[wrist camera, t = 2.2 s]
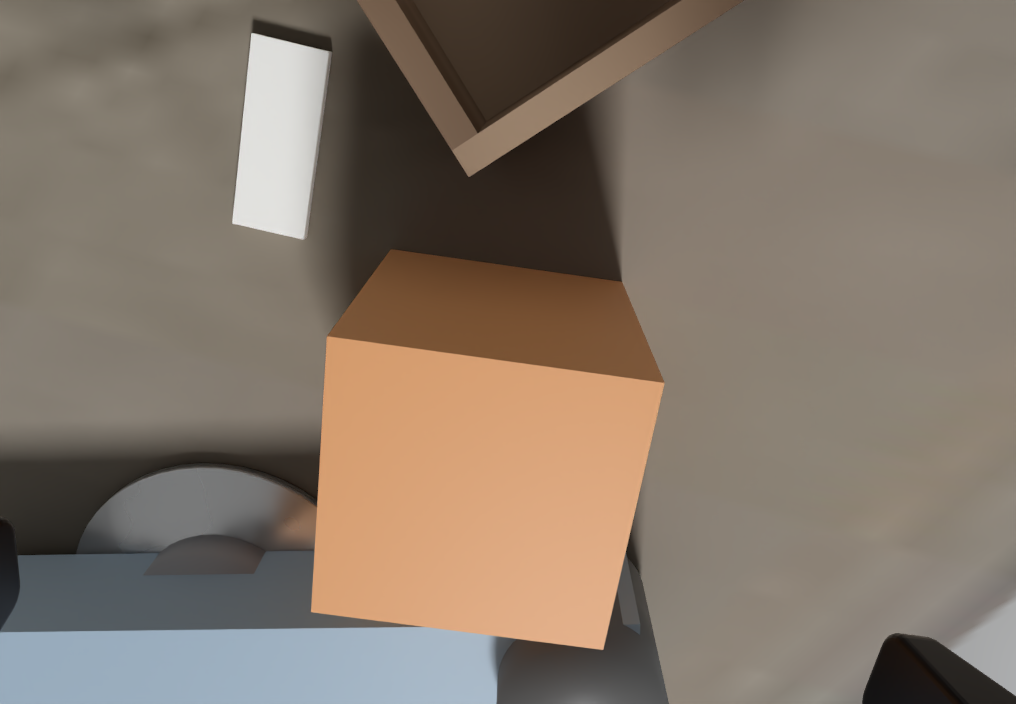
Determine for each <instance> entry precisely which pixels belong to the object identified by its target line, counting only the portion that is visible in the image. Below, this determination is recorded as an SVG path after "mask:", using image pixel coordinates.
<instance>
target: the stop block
mask: <svg viewBox="0 0 1016 704" xmlns="http://www.w3.org/2000/svg"><path fill="white" fill-rule="evenodd" d="M663 388H664V380H663V378H662V376H661V373H660V371H659V369H658V366H657V364H656V361H655V359H654V357H653V354H652V352H651V350H650V347H649V345H648V342H647V340H646V338H645V335H644V333H643V331H642V328H641V326H640V323H639V321H638V319H637V316H636V314H635V312H634V309H633V307H632V304H631V302H630V300H629V297H628V295H627V293H626V290H625V288H624V286H623V283H622V282H620V281H613V280H606V279H599V278H591V277H584V276H577V275H570V274H563V273H556V272H549V271H542V270H535V269H528V268H521V267H514V266H507V265H500V264H493V263H486V262H478V261H471V260H464V259H457V258H450V257H443V256H436V255H429V254H422V253H415V252H408V251H401V250H394V249H391V250H390V251H389V252H388V254H387V255H386V256H385V258H384V259H383V260H382V262H381V263H380V265H379V266H378V267H377V269H376V270H375V271H374V273H373V274H372V276H371V277H370V278H369V280H368V281H367V282H366V284H365V285H364V286H363V288H362V289H361V291H360V292H359V293H358V295H357V296H356V297H355V299H354V300H353V301H352V303H351V304H350V306H349V307H348V308H347V310H346V311H345V312H344V314H343V315H342V316H341V318H340V319H339V321H338V322H337V323H336V325H335V326H334V327H333V329H332V330H331V332H330V333H329V334H328V336H327V345H326V362H325V380H324V397H323V414H322V431H321V449H320V466H319V483H318V500H317V518H316V535H315V552H314V569H313V587H312V604H311V612H313V613H321V614H329V615H336V616H344V617H352V618H360V619H367V620H375V621H383V622H391V623H398V624H406V625H414V626H421V627H429V628H437V629H445V630H452V631H460V632H468V633H476V634H483V635H491V636H499V637H507V638H514V639H522V640H530V641H538V642H545V643H553V644H561V645H569V646H576V647H584V648H592V649H599V650H603V649H604V644H605V640H606V636H607V631H608V627H609V622H610V618H611V614H612V609H613V605H614V601H615V596H616V592H617V588H618V583H619V579H620V575H621V570H622V566H623V562H624V557H625V553H626V549H627V544H628V540H629V535H630V531H631V527H632V522H633V518H634V514H635V509H636V505H637V501H638V496H639V492H640V488H641V483H642V479H643V475H644V470H645V466H646V462H647V457H648V453H649V448H650V444H651V440H652V435H653V431H654V427H655V422H656V418H657V414H658V409H659V405H660V401H661V396H662V392H663Z"/></svg>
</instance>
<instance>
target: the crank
mask: <svg viewBox="0 0 1016 704" xmlns="http://www.w3.org/2000/svg"><path fill="white" fill-rule="evenodd" d="M314 552H315V551H264V550H263V549H261V548H259V547H257V546H256V545H254V544H252V543H249V542H246V541H244V540H241V539H237V538H233V537H229V536H222V535H199V536H194V537H188V538H185V539H182V540H179V541H177V542H175V543H173V544H171V545H169V546H168V547H166V548H165V549H163V550H162V551H161V552H160V553H135V554H74V555H17V557H18V566H19V576H20V592H19V597H18V600H17V603H16V605H15V608H14V609H13V611H12V613H11V615H10V616H9V618H8V620H7V621H6V623H5V625H4V626H3V628H2V629H1V631H0V704H669V703H668V698H667V693H666V689H665V684H664V679H663V675H662V670H661V666H660V661H659V657H658V652H657V647H656V643H655V638H654V634H653V629H652V625H651V620H650V615H649V611H648V606H647V602H646V597H645V592H644V588H643V583H642V580H641V577H640V575H639V573H638V571H637V569H636V568H635V566H634V565H633V564H632V562H631V561H630V560H629V559H628V558H627V555H626V553H625V557H624V562H623V566H622V570H621V575H620V579H619V583H618V588H617V592H616V596H615V601H614V605H613V609H612V614H611V618H610V622H609V627H608V631H607V636H606V640H605V644H604V649H603V650H599V649H592V648H584V647H576V646H569V645H561V644H553V643H545V642H538V641H530V640H522V639H514V638H507V637H499V636H491V635H483V634H476V633H468V632H460V631H452V630H445V629H437V628H429V627H421V626H414V625H406V624H398V623H391V622H383V621H375V620H367V619H360V618H352V617H344V616H336V615H329V614H321V613H313V612H311V604H312V587H313V569H314Z"/></svg>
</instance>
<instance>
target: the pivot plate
mask: <svg viewBox="0 0 1016 704" xmlns="http://www.w3.org/2000/svg"><path fill="white" fill-rule="evenodd" d="M316 518H317V500H316V499H315V498H313V497H312V496H310V495H309V494H307V493H306V492H304V491H303V490H301V489H299V488H297V487H295V486H294V485H292V484H290V483H288V482H286V481H284V480H282V479H279V478H277V477H274V476H271V475H269V474H266V473H264V472H260V471H256V470H253V469H249V468H245V467H240V466H234V465H227V464H214V463H197V464H184V465H178V466H173V467H169V468H164V469H161V470H158V471H155V472H152V473H149V474H146V475H144V476H142V477H140V478H138V479H136V480H134V481H132V482H130V483H129V484H127V485H126V486H125V487H123V488H122V489H120V490H119V491H118V492H116V493H115V494H114V495H113V496H112V497H111V498H110V499H109V500H108V501H107V502H106V503H105V504H104V505H103V506H102V507H101V508H100V509H99V510H98V511H97V512H96V514H95V515H94V516H93V518H92V519H91V521H90V522H89V523H88V525H87V527H86V529H85V531H84V533H83V535H82V537H81V539H80V542H79V545H78V549H77V552H76V554H135V553H160V552H161V551H162V550H163V549H165V548H166V547H168V546H169V545H171V544H173V543H175V542H177V541H179V540H182V539H185V538H188V537H194V536H199V535H222V536H229V537H233V538H237V539H241V540H244V541H246V542H249V543H252V544H254V545H256V546H257V547H259V548H261V549H263V550H264V551H315V535H316Z"/></svg>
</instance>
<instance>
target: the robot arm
mask: <svg viewBox="0 0 1016 704" xmlns="http://www.w3.org/2000/svg"><path fill="white" fill-rule="evenodd" d="M19 592H20V576H19V566H18V557H17V547H16V538H15V531H14V527H13V525H12V523H11V522H10V521H9V520H8V519H6V518H4V517H0V631H1V629H2V628H3V626H4V625H5V623H6V621H7V620H8V618H9V616H10V615H11V613H12V611H13V609H14V608H15V605H16V603H17V600H18V597H19ZM862 704H1016V696H1015V695H1013V694H1012V693H1011V692H1009V691H1007V690H1006V689H1005V688H1003V687H1002V686H1000V685H999V684H998V683H996V682H995V681H993V680H991V679H990V678H989V677H987V676H986V675H985V674H983V673H982V672H980V671H979V670H977V669H976V668H974V667H973V666H972V665H970V664H969V663H968V662H966V661H965V660H963V659H962V658H960V657H959V656H958V655H956V654H955V653H953V652H952V651H950V650H949V649H948V648H946V647H945V646H943V645H942V644H940V643H939V642H938V641H936V640H934V639H932V638H929V637H923V636H916V635H908V634H900V633H895V634H892V635H890V636H888V637H887V638H886V639H885V641H884V643H883V645H882V647H881V649H880V652H879V655H878V657H877V660H876V662H875V665H874V667H873V670H872V672H871V675H870V678H869V680H868V683H867V685H866V688H865V691H864V694H863V701H862Z"/></svg>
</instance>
